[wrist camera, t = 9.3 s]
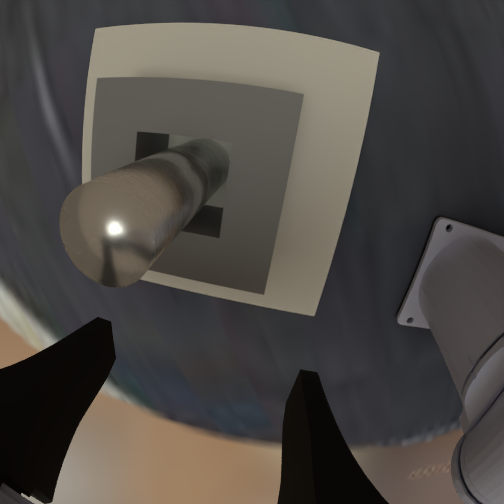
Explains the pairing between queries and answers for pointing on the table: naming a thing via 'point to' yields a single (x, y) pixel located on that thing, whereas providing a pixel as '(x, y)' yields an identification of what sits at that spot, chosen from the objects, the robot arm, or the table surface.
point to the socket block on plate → (238, 146)
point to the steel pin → (139, 210)
